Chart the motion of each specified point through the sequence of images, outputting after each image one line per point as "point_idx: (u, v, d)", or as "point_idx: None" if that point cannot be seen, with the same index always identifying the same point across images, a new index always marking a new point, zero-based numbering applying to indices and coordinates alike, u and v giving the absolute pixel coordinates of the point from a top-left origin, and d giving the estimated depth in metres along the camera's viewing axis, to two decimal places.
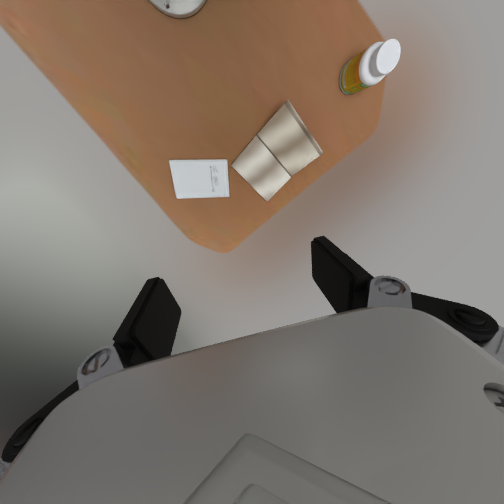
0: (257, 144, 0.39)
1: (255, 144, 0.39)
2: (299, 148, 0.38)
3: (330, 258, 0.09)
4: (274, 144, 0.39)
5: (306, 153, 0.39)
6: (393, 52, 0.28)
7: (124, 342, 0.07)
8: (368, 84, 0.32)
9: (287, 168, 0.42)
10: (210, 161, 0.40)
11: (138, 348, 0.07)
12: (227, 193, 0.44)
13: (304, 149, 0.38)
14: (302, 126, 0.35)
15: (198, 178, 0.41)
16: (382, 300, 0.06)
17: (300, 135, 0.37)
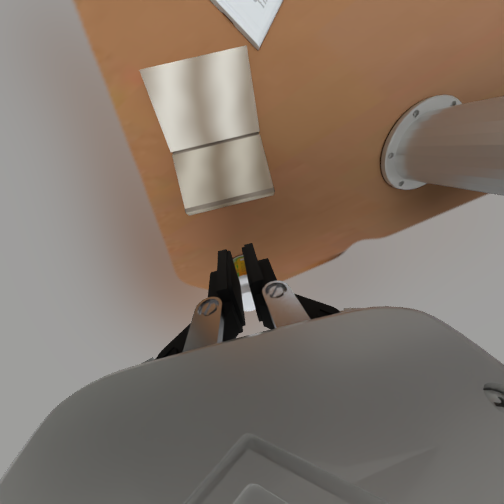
0: (248, 125, 0.23)
1: (250, 121, 0.23)
2: (209, 184, 0.24)
3: (245, 264, 0.10)
4: (233, 151, 0.24)
5: (197, 191, 0.24)
6: (249, 306, 0.27)
7: (224, 295, 0.08)
8: None
9: (188, 154, 0.24)
10: (276, 3, 0.19)
11: (232, 301, 0.09)
12: None
13: (204, 190, 0.24)
14: (236, 199, 0.24)
15: None
16: (278, 305, 0.07)
17: (226, 192, 0.24)
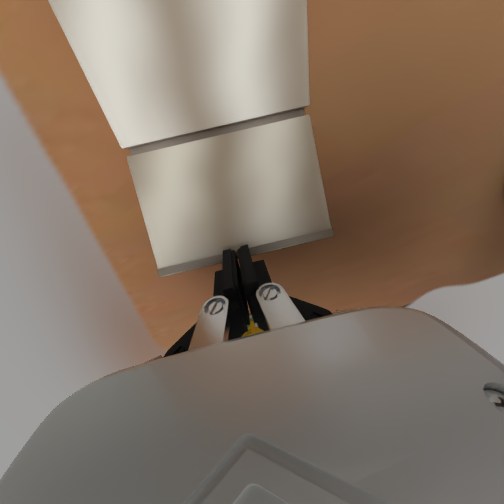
0: (286, 90, 0.11)
1: (291, 81, 0.11)
2: (206, 220, 0.12)
3: (240, 266, 0.10)
4: (254, 151, 0.12)
5: (181, 233, 0.12)
6: None
7: (230, 294, 0.08)
8: None
9: (160, 154, 0.12)
10: None
11: (238, 300, 0.09)
12: None
13: (195, 232, 0.12)
14: (258, 252, 0.12)
15: None
16: (272, 307, 0.07)
17: (239, 236, 0.12)
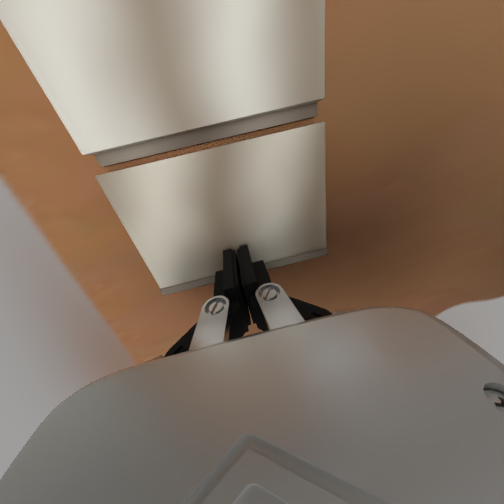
0: (296, 78, 0.08)
1: (303, 67, 0.08)
2: (204, 245, 0.12)
3: (240, 266, 0.10)
4: (255, 170, 0.10)
5: (179, 258, 0.12)
6: None
7: (230, 293, 0.08)
8: None
9: (139, 173, 0.09)
10: None
11: (239, 300, 0.09)
12: None
13: (194, 256, 0.12)
14: None
15: None
16: (272, 307, 0.07)
17: None
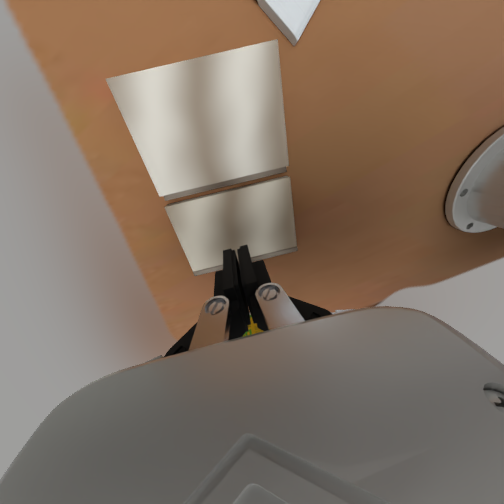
0: (273, 157, 0.16)
1: (276, 152, 0.16)
2: (221, 244, 0.19)
3: (240, 266, 0.10)
4: (252, 202, 0.17)
5: (206, 252, 0.19)
6: None
7: (230, 293, 0.08)
8: None
9: (188, 205, 0.17)
10: None
11: (239, 300, 0.09)
12: None
13: (215, 251, 0.19)
14: (253, 261, 0.20)
15: None
16: (272, 307, 0.07)
17: None
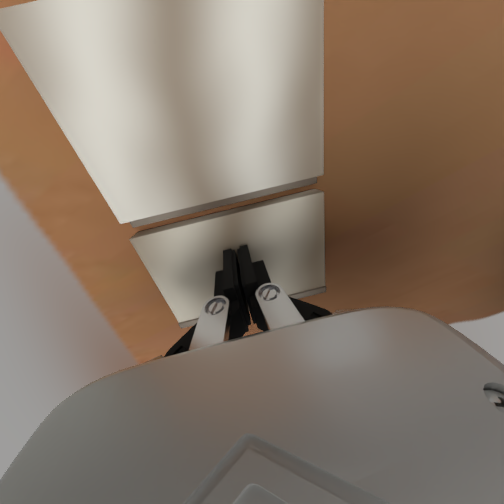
0: (300, 162, 0.10)
1: (305, 154, 0.10)
2: None
3: (240, 266, 0.10)
4: (264, 229, 0.12)
5: (196, 298, 0.13)
6: None
7: (230, 293, 0.08)
8: None
9: (166, 236, 0.11)
10: None
11: (239, 300, 0.09)
12: None
13: (209, 296, 0.13)
14: None
15: None
16: (272, 307, 0.07)
17: None
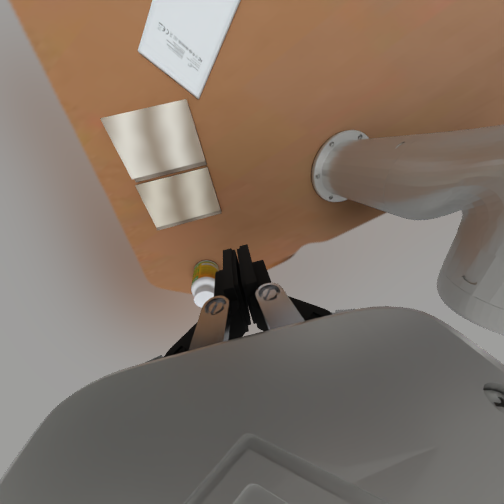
0: (195, 156, 0.29)
1: (196, 153, 0.29)
2: (172, 209, 0.32)
3: (240, 266, 0.10)
4: (187, 182, 0.30)
5: (163, 214, 0.32)
6: None
7: (230, 293, 0.08)
8: (193, 283, 0.34)
9: (149, 184, 0.30)
10: (207, 68, 0.25)
11: (239, 300, 0.09)
12: (145, 51, 0.23)
13: (168, 213, 0.32)
14: (194, 220, 0.33)
15: (193, 18, 0.22)
16: (272, 307, 0.07)
17: (185, 214, 0.33)
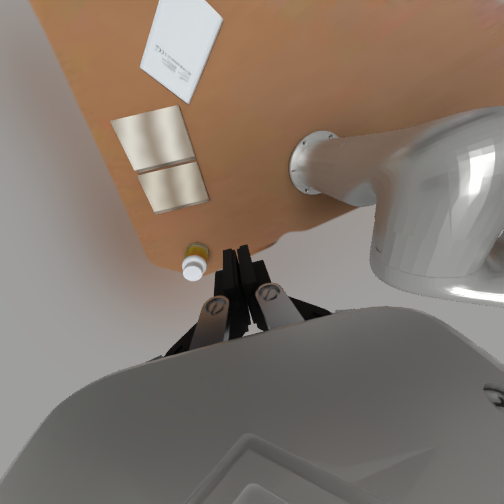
0: (186, 152, 0.35)
1: (187, 150, 0.35)
2: (167, 196, 0.38)
3: (240, 266, 0.10)
4: (179, 174, 0.36)
5: (160, 200, 0.38)
6: (193, 277, 0.39)
7: (230, 293, 0.08)
8: (184, 260, 0.40)
9: (148, 175, 0.36)
10: (195, 79, 0.30)
11: (239, 300, 0.09)
12: (145, 68, 0.29)
13: (164, 200, 0.38)
14: (185, 206, 0.39)
15: (183, 40, 0.28)
16: (272, 307, 0.07)
17: (179, 201, 0.39)
